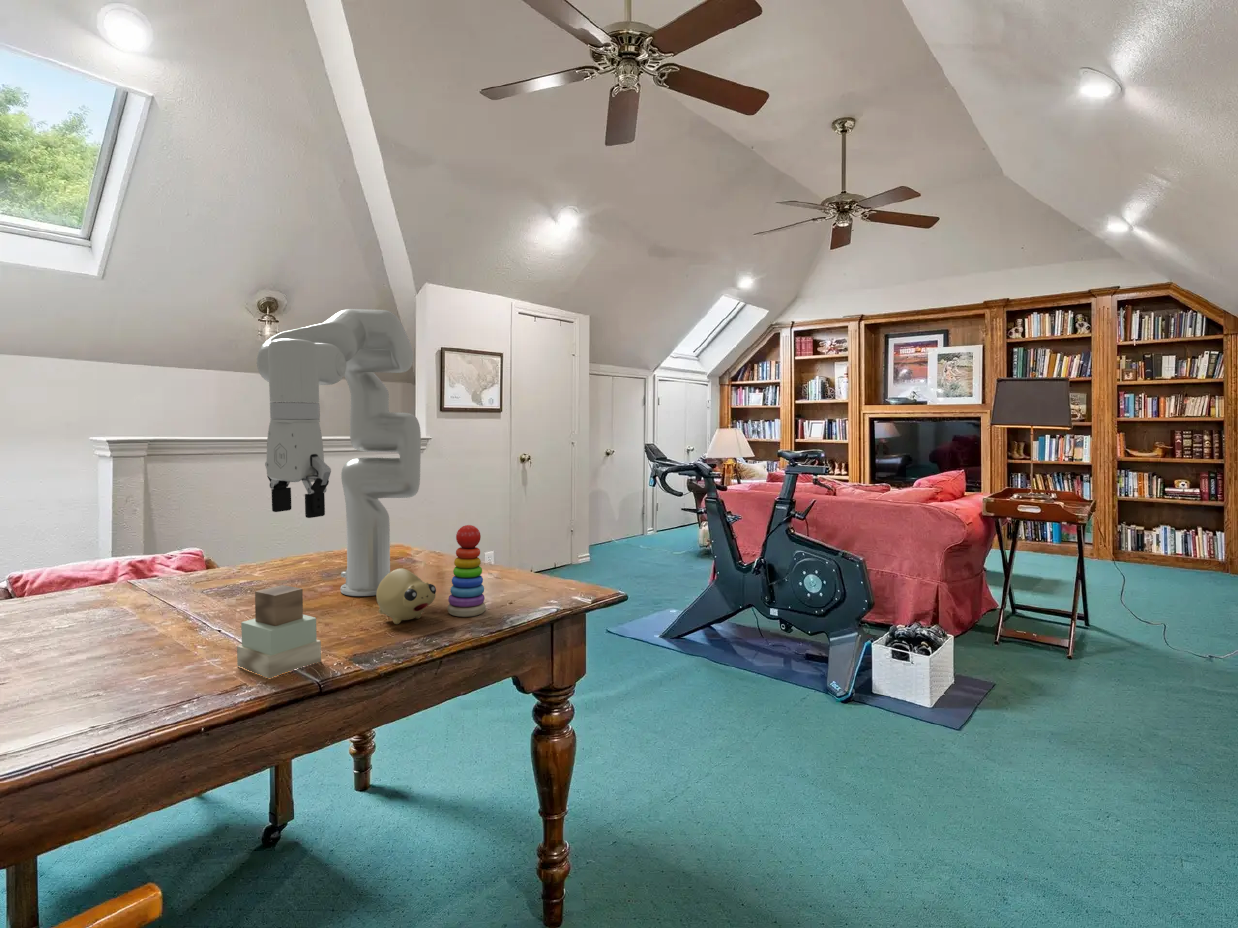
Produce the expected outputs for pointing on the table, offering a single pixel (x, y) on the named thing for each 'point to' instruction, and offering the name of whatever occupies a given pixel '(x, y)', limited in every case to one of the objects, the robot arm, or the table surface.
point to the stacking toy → (467, 576)
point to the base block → (278, 659)
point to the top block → (278, 635)
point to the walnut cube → (278, 605)
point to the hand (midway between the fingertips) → (298, 513)
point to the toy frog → (403, 595)
